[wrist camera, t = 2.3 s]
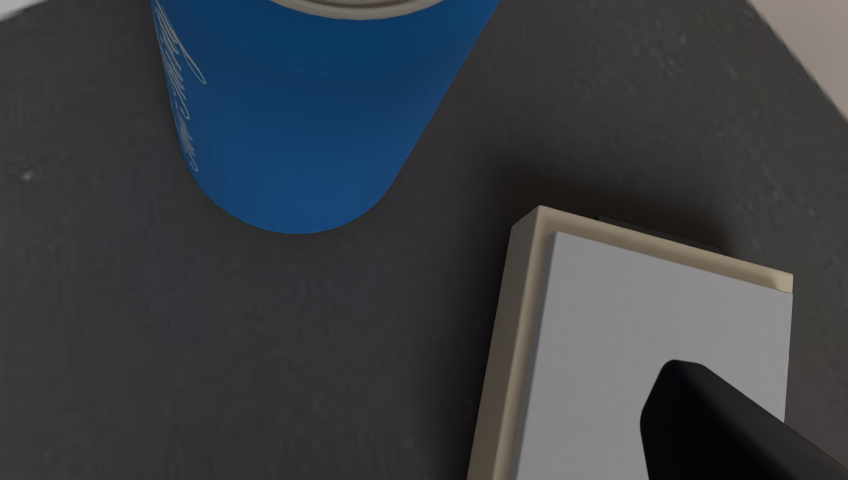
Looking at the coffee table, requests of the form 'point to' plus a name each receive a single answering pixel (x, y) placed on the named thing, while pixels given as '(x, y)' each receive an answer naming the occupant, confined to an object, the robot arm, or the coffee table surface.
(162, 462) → the coffee table surface
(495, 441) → the kitchen scale
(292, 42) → the beverage can
